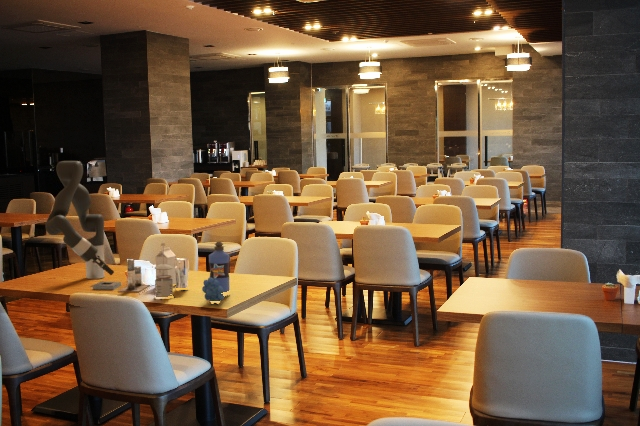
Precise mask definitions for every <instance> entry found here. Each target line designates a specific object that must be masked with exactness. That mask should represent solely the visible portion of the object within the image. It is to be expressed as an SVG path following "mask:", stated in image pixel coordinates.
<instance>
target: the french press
mask: <svg viewBox="0 0 640 426" xmlns="http://www.w3.org/2000/svg"><path fill="white" fill-rule="evenodd" d="M160 246H162V247H164V246H166V243H164V242H161V244H160ZM172 268H173V267H172V266H170V265H168V264H164V252H163V264H161V265H158V266H156V265H155V267H154V270H155V271H156V270H159V273H160V272H161V271H160V270H163V273H162V272H161V273H162V275H160V276H159V275H158V276H156V275H155V280H154V283H155V284H154V285H155V286H154V288H155V290H154V291H155V295H154V296H156V297H168V296H172V295H174V286H173V279H170V278H171V277H172V276H171V275H164V270H169V269H172ZM156 278H158V279H156ZM161 279H163V281H161ZM156 285H157V286H156ZM170 294H172V295H170Z"/></svg>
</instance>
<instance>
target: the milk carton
mask: <svg viewBox="0 0 640 426" xmlns="http://www.w3.org/2000/svg"><path fill="white" fill-rule="evenodd" d="M163 252H164V264H168V265H170V266H172V267H173V268H172V269H169V270H164V275H171V276H172V277H171V278H170V279H173V284H176V278H175V272H174V259H177V255H176V254H175V252H173V250H171V247H170V246H169V247H163V248H161V249H160V251H159V253H158V254H157V255H156V256H155V267H156V266H158V265H161V264H163ZM160 271H161V272H162V273H163V270H160ZM161 272H160V273H159V270H156V269H155V280H156V279H158V278H156V276H158V275H159V276H160V275H162V273H161ZM161 281H163V279H161ZM156 286H157V285H156Z"/></svg>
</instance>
